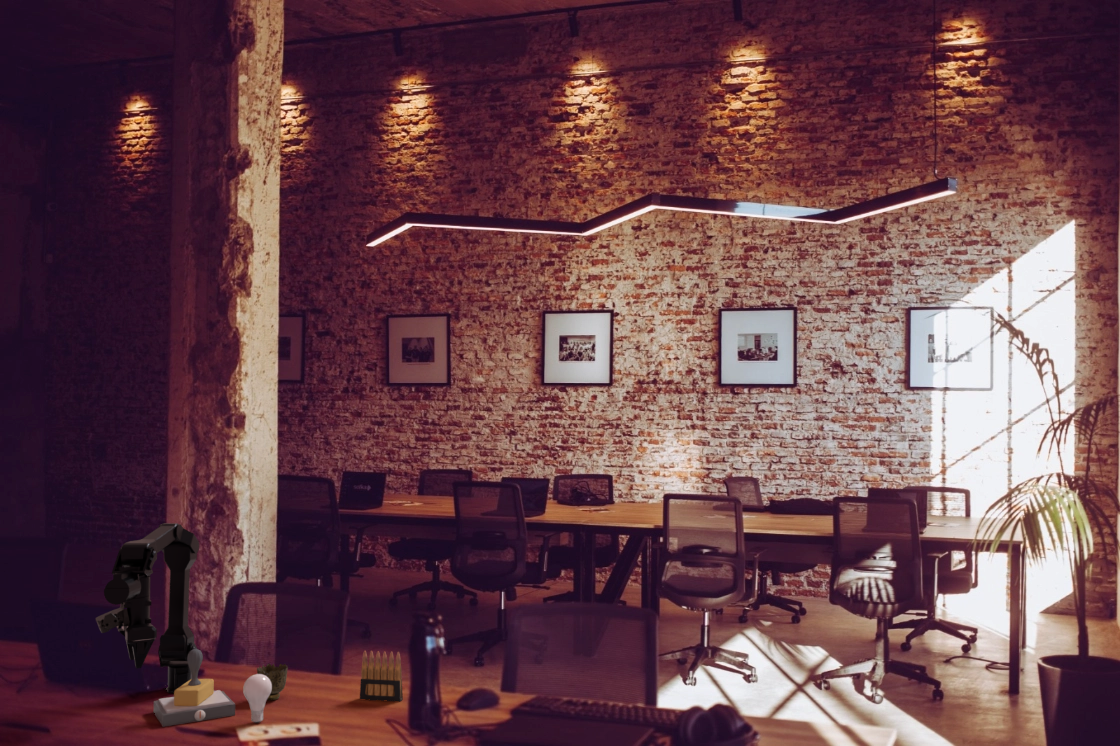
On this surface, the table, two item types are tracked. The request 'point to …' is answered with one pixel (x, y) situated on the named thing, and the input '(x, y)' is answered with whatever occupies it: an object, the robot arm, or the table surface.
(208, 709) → the dial scale
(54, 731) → the table surface
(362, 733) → the table surface
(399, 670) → the ammunition clip
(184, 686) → the rubber stamp
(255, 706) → the lightbulb
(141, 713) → the table surface
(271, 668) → the cup
